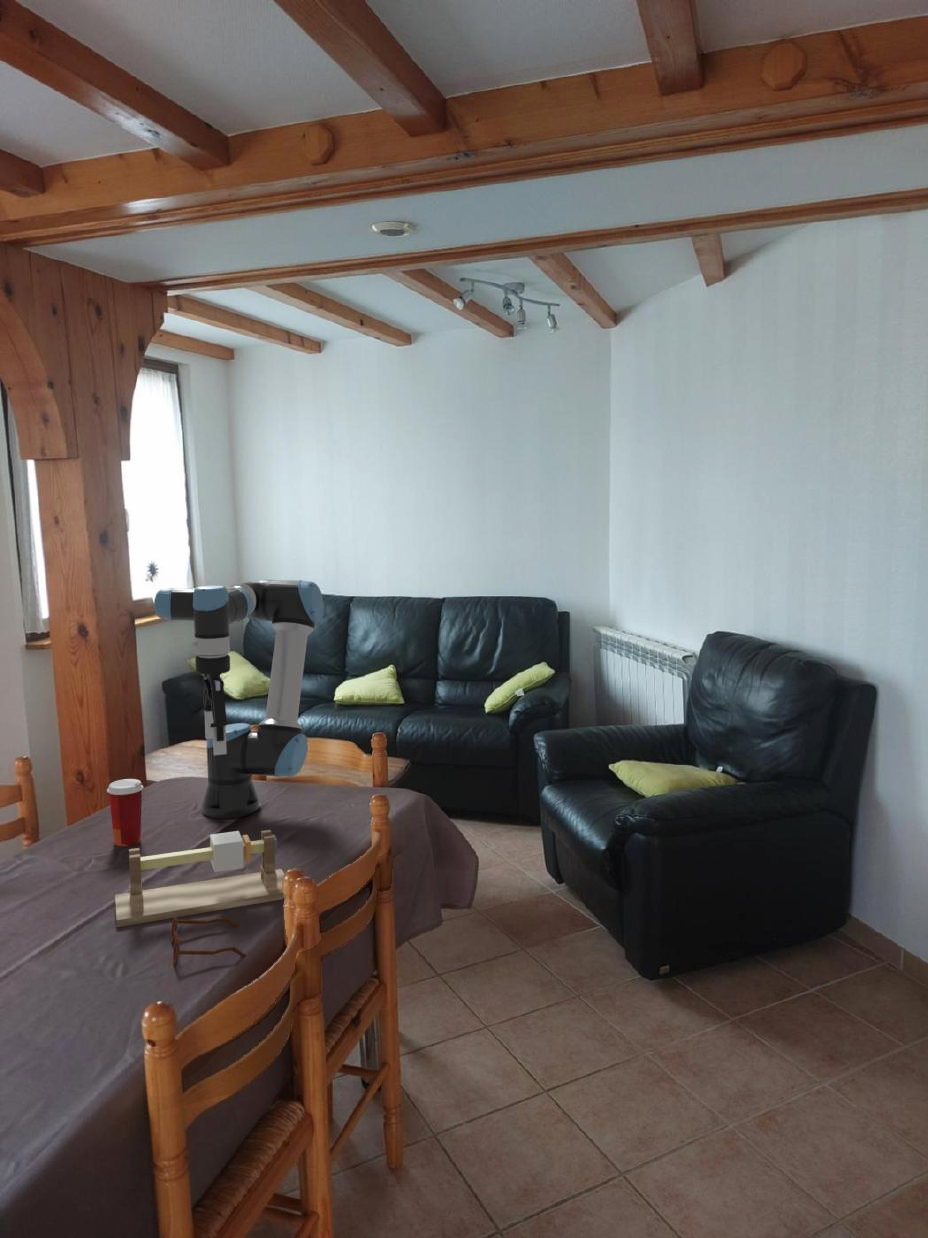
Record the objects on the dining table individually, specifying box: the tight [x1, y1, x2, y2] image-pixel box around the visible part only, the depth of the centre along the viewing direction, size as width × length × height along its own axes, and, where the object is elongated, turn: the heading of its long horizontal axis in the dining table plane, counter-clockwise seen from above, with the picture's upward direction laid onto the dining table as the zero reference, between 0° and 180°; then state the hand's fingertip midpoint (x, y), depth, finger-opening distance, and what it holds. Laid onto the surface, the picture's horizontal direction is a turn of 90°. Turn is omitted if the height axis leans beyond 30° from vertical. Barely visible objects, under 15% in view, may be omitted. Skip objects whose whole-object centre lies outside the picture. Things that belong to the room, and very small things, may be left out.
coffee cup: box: [106, 778, 144, 848], centre depth 212 cm, size 8×8×15 cm
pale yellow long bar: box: [140, 834, 278, 871], centre depth 181 cm, size 4×29×4 cm, turn 113°
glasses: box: [170, 917, 248, 966], centre depth 164 cm, size 13×13×5 cm
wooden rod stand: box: [114, 829, 285, 928], centre depth 182 cm, size 12×35×12 cm, turn 113°
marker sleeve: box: [209, 830, 245, 873], centre depth 183 cm, size 6×6×6 cm
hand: (215, 746), depth 197 cm, fingers open, 13 cm apart
